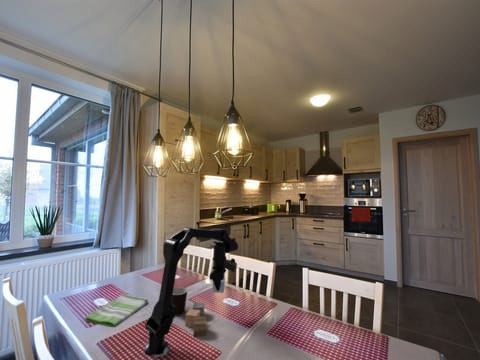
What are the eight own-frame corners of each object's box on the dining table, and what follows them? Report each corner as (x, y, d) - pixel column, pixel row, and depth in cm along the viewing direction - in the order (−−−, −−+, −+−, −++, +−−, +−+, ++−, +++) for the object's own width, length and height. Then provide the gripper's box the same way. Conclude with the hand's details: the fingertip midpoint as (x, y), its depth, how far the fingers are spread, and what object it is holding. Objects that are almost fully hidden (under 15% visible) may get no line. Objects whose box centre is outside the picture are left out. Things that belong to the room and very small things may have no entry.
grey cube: (223, 292, 107) (223, 281, 107) (212, 292, 107) (213, 281, 107) (224, 288, 112) (224, 277, 112) (214, 288, 112) (214, 277, 112)
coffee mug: (182, 317, 107) (182, 295, 107) (165, 315, 109) (165, 293, 109) (192, 305, 118) (192, 285, 119) (176, 303, 120) (177, 284, 120)
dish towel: (148, 303, 121) (149, 296, 121) (115, 328, 98) (115, 320, 99) (121, 299, 125) (121, 292, 125) (83, 322, 103) (83, 314, 103)
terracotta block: (196, 327, 99) (196, 316, 99) (185, 326, 100) (185, 314, 100) (200, 321, 104) (200, 310, 104) (189, 320, 105) (190, 309, 105)
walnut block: (205, 335, 94) (206, 323, 94) (193, 336, 93) (193, 324, 93) (205, 328, 99) (206, 316, 99) (194, 329, 98) (194, 317, 98)
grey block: (203, 318, 107) (203, 307, 107) (192, 318, 106) (192, 307, 107) (204, 312, 112) (204, 302, 112) (193, 313, 111) (194, 302, 112)
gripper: (235, 261, 101) (234, 297, 100) (237, 250, 119) (236, 281, 118) (209, 260, 101) (209, 296, 100) (215, 250, 120) (215, 280, 119)
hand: (218, 288), depth 109 cm, fingers closed on grey cube, 5 cm apart
